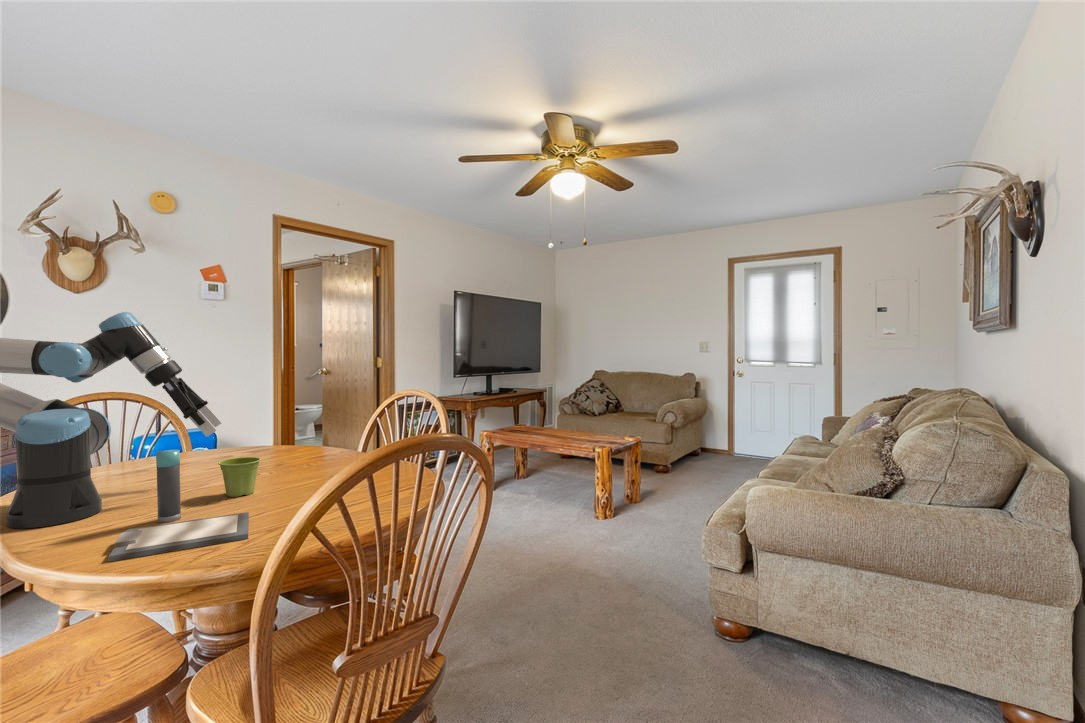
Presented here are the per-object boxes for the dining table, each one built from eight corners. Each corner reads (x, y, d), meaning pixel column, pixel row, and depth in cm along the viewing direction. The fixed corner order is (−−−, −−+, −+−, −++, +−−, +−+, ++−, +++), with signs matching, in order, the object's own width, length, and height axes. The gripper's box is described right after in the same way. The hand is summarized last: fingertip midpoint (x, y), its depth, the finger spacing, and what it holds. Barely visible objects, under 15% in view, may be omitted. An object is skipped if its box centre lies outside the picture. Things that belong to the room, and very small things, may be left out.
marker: (156, 524, 105) (154, 454, 105) (159, 518, 109) (157, 450, 109) (179, 520, 108) (178, 452, 107) (182, 515, 111) (180, 448, 111)
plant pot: (231, 489, 132) (231, 456, 132) (268, 488, 133) (267, 456, 133) (210, 499, 123) (210, 464, 123) (250, 498, 123) (249, 464, 123)
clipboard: (108, 561, 87) (108, 551, 87) (127, 534, 100) (127, 525, 100) (248, 538, 97) (247, 529, 97) (248, 516, 110) (248, 508, 110)
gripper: (162, 359, 119) (223, 427, 126) (180, 357, 141) (231, 415, 148) (130, 378, 117) (194, 446, 123) (153, 373, 139) (207, 431, 145)
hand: (214, 429), depth 135 cm, fingers open, 13 cm apart
